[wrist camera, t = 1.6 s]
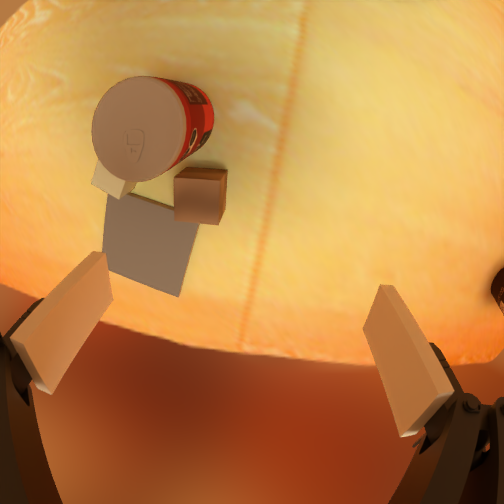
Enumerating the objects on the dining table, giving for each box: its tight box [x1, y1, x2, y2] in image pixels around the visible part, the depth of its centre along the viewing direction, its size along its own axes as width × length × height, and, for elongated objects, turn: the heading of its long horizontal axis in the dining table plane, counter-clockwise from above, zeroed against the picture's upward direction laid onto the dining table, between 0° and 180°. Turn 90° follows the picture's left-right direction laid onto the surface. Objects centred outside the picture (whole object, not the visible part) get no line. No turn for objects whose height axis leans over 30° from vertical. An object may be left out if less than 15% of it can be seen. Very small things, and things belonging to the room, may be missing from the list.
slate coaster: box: [102, 192, 200, 297], centre depth 34 cm, size 12×12×1 cm
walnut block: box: [174, 167, 228, 225], centre depth 29 cm, size 4×4×4 cm
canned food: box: [92, 76, 214, 182], centre depth 22 cm, size 8×8×11 cm
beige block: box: [91, 159, 137, 199], centre depth 28 cm, size 4×4×4 cm
